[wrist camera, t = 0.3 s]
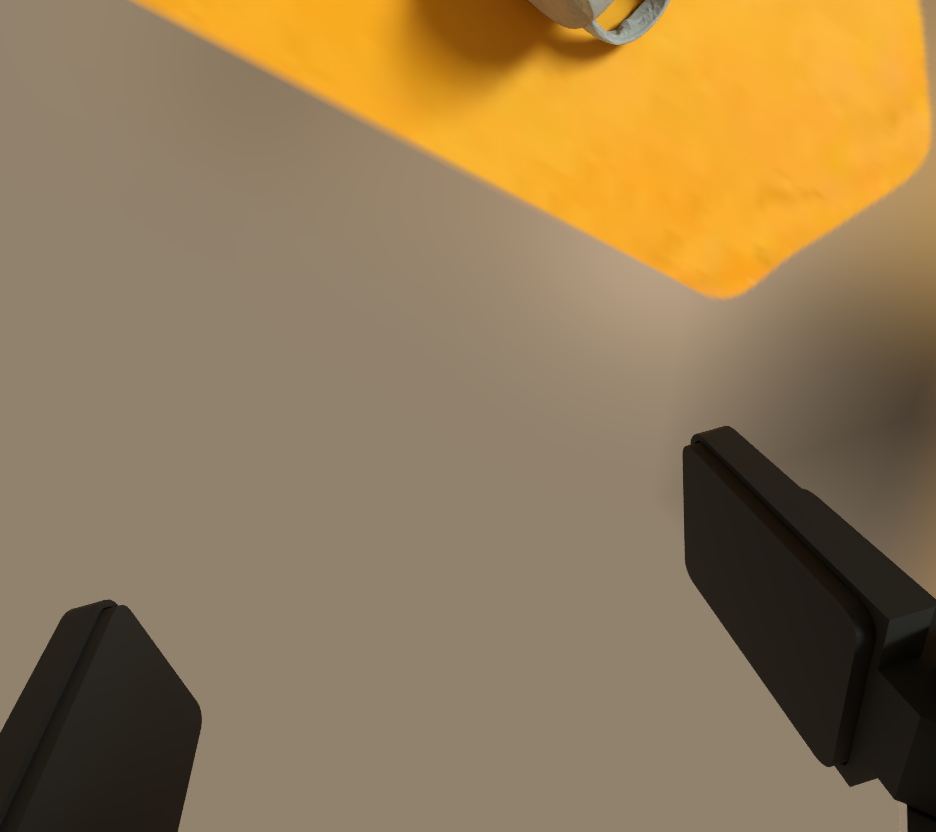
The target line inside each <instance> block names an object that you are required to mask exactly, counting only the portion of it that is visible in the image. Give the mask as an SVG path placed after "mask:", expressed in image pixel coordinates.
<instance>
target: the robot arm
mask: <svg viewBox="0 0 936 832" xmlns="http://www.w3.org/2000/svg"><path fill="white" fill-rule="evenodd" d="M683 490H684V491H683V492H684V493H683V494H684V539H685V564H686V568H687V571H688V573H689V576H690V578H691V580H692V581H693V583H694V584H695V586H696V587H697V589H698V590H699V592H700V593H701V594H702V596H703V597H704V599H705V600H706V602H707V603H708V604H709V606H710V607H711V609H712V610H713V611H714V613H715V614H716V616H717V617H718V618H719V620H720V621H721V623H722V624H723V626H724V627H725V629H726V630H727V631H728V633H729V634H730V636H731V637H732V639H733V640H734V641H735V643H736V644H737V645H738V647H739V648H740V650H741V651H742V653H743V654H744V655H745V657H746V659H747V660H748V661H749V663H750V664H751V666H752V667H753V668H754V670H755V671H756V673H757V674H758V676H759V677H760V678H761V680H762V681H763V683H764V684H765V685H766V687H767V688H768V690H769V691H770V693H771V694H772V695H773V697H774V698H775V700H776V701H777V703H778V704H779V705H780V707H781V708H782V710H783V711H784V712H785V714H786V715H787V717H788V718H789V720H790V721H791V723H792V724H793V725H794V727H795V728H796V730H797V731H798V732H799V734H800V735H801V737H802V738H803V740H804V741H805V742H806V744H807V745H808V747H809V748H810V750H811V751H812V752H813V754H814V755H815V756H816V758H817V759H818V760H819V761H820V762H821V763H822V764H823V765H825V766H826V767H831V766H835V767H836V768H837V770H838V771H839V773H840V774H841V775H842V777H843V778H844V779H845V781H846V782H847V784H848V785H849V786H850V787H851V786H854V785H858V784H861V783H864V782H867V781H870V780H873V779H876V778H878V779H879V780H880V781H881V783H882V784H883V785H884V786H885V788H886V789H887V790H888V792H889V793H890V794H891V795H892V797H893V798H894V799H895V800H897V801H899V832H936V599H935V598H934V597H932V596H931V595H930V594H929V593H928V592H927V591H925V590H924V589H923V588H922V587H921V586H920V585H919V584H917V583H916V582H915V581H914V580H913V579H912V578H910V577H909V576H908V575H907V574H906V573H905V572H903V571H902V570H901V569H900V568H899V567H898V566H897V565H895V564H894V563H893V562H892V561H891V560H890V559H889V558H887V557H886V556H885V555H884V554H883V553H882V552H880V551H879V550H878V549H877V548H876V547H875V546H874V545H872V544H871V543H870V542H869V541H868V540H867V539H865V538H864V537H863V536H862V535H861V534H860V533H859V532H857V531H856V530H855V529H854V528H853V527H852V526H850V525H849V524H848V523H847V522H846V521H845V520H844V519H842V518H841V517H840V516H839V515H838V514H837V513H835V512H834V511H833V510H832V509H831V508H830V507H828V506H827V505H826V504H825V503H824V502H823V501H821V500H820V499H819V498H818V497H817V496H816V495H814V494H813V493H811V492H810V491H808V490H805V489H801V488H800V487H799V486H798V485H797V484H796V483H795V482H794V481H792V480H791V479H790V478H789V477H788V476H787V475H786V474H784V473H783V472H782V471H781V470H780V469H779V468H778V467H776V466H775V465H774V464H773V463H772V462H771V461H770V460H769V459H767V458H766V457H765V456H764V455H763V454H762V453H760V452H759V451H758V450H757V449H756V448H755V447H754V446H753V445H751V444H750V443H749V442H748V441H747V440H746V439H745V438H743V437H742V436H741V435H740V434H739V433H738V432H737V431H735V430H734V429H733V428H731V427H730V426H723V427H720V428H716V429H713V430H709V431H705V432H702V433H698V434H695V435H694V436H693V437H692V439H691V445H688V446H685V447H684V449H683ZM201 723H202V716H201V710H200V707H199V705H198V703H197V701H196V700H195V698H194V697H193V696H192V694H191V693H190V692H189V690H188V689H187V688H186V686H185V685H184V683H183V682H182V681H181V679H180V678H179V676H178V675H177V674H176V672H175V671H174V669H173V668H172V667H171V665H170V664H169V663H168V661H167V660H166V658H165V657H164V656H163V654H162V653H161V652H160V650H159V649H158V648H157V646H156V645H155V643H154V642H153V641H152V639H151V638H150V636H149V635H148V634H147V632H146V631H145V629H144V628H143V627H142V625H141V624H140V623H139V621H138V620H137V619H136V617H135V616H134V614H133V613H132V612H131V610H130V609H129V608H128V607H127V606H124V605H120V606H118V605H117V604H116V603H115V602H114V601H112V600H103V601H100V602H96V603H93V604H89V605H85V606H82V607H78V608H75V609H71V610H69V611H68V612H66V613H65V615H64V616H63V617H62V619H61V620H60V622H59V624H58V626H57V628H56V630H55V632H54V634H53V635H52V637H51V639H50V641H49V643H48V645H47V647H46V649H45V650H44V652H43V654H42V656H41V658H40V660H39V661H38V663H37V665H36V667H35V669H34V671H33V673H32V675H31V677H30V678H29V680H28V682H27V684H26V686H25V688H24V690H23V691H22V693H21V695H20V697H19V699H18V701H17V703H16V705H15V707H14V708H13V710H12V712H11V714H10V716H9V718H8V719H7V721H6V723H5V725H4V727H3V729H2V731H1V733H0V832H178V827H179V823H180V819H181V815H182V810H183V805H184V801H185V797H186V792H187V788H188V784H189V779H190V775H191V770H192V766H193V761H194V757H195V752H196V748H197V744H198V739H199V735H200V730H201Z"/></svg>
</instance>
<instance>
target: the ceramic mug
mask: <svg viewBox="0 0 936 832" xmlns="http://www.w3.org/2000/svg"><path fill="white" fill-rule="evenodd" d="M528 1H529V2H530V3H531V4H533V5H534V6H535V7H536V8H537V9H538V10H539V11H541V12H542V13H543V14H544V15H546V16H547V17H548V18H550V19H551V20H553V21H554V22H556V23H558V24H560V25H562V26H564V27H566V28H569V29H578V28H584V29H585V30H586V31H587V32H589V33H590V34H591V35H592V36H594V37H596V38H598V39H600V40H602V41H604V42H606V43H609V44H613V45H621V44H627V43H630V42H633V41H635V40H636V39H638V38H639V37H641V36H642V35H643V34H644V33H646V32H647V31H648V30H649V29H650V28H651V27H652V26H653V25H654V24H655V23H656V21H657V20H658V19H659V18H660V16H661V15H662V14H663V12H664V11H665V9H666V7H667V6H668V4H669V2H670V0H644V1H643V3H642V4H641V5H640V6H639V7H638V8H637V9H636V10H635V11H634V13H633V14H632V15H631V16H630V17H629V18H628V19H625V20H623V22H622V23H621V25H620V26H619V28H618V29H616V30H613V31H605V30H604V29H603V28H602V27H601V26H599V24H598V22H597V21H596V20H595V19H596V18H597V17H598V16H599V15H600V14H602V13H603V12H604V11H605V10H606V9H607V7H608V6H609V5H610V4H611V3H612V2H613V1H614V0H528Z"/></svg>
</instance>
